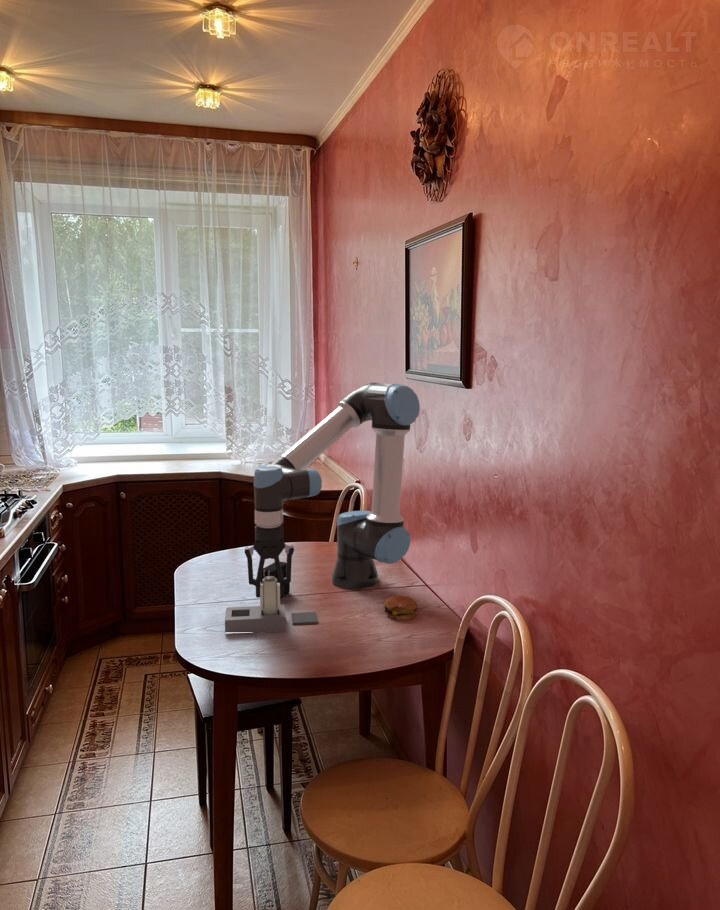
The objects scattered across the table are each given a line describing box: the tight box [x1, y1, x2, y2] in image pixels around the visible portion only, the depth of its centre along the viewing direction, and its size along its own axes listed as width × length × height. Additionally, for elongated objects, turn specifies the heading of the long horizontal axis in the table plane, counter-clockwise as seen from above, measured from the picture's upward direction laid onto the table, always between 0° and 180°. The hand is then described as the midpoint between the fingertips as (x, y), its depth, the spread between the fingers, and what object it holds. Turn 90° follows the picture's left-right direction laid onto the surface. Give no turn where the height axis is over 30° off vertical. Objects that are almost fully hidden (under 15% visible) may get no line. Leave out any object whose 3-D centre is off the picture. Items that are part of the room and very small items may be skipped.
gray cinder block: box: [224, 604, 287, 633], centre depth 185 cm, size 16×9×4 cm, turn 99°
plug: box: [262, 576, 278, 615], centre depth 184 cm, size 4×4×14 cm
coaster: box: [290, 611, 319, 626], centre depth 190 cm, size 7×7×1 cm
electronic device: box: [260, 561, 291, 600], centre depth 206 cm, size 4×10×10 cm, turn 155°
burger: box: [383, 595, 419, 621], centre depth 194 cm, size 10×9×5 cm
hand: (270, 607), depth 185 cm, fingers closed on plug, 4 cm apart
